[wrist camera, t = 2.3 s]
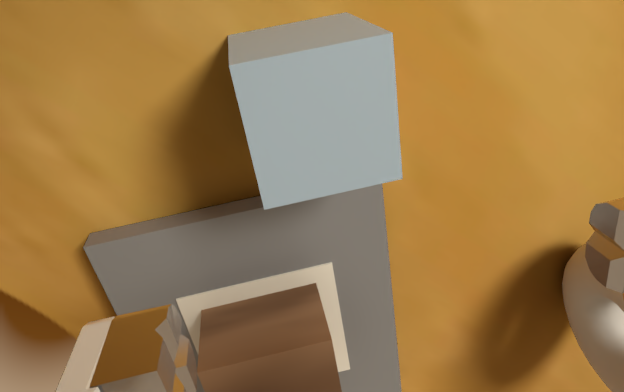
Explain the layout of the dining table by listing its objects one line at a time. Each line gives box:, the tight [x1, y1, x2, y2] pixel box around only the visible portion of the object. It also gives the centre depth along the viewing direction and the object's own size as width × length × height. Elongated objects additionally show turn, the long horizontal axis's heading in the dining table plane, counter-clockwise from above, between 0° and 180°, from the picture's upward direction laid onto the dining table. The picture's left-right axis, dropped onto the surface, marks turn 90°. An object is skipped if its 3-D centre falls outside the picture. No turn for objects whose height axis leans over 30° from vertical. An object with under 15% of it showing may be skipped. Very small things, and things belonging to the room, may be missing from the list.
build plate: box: [83, 184, 401, 392], centre depth 25 cm, size 16×14×1 cm
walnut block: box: [197, 283, 342, 392], centre depth 23 cm, size 6×6×4 cm
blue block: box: [228, 12, 402, 210], centre depth 17 cm, size 5×5×6 cm
